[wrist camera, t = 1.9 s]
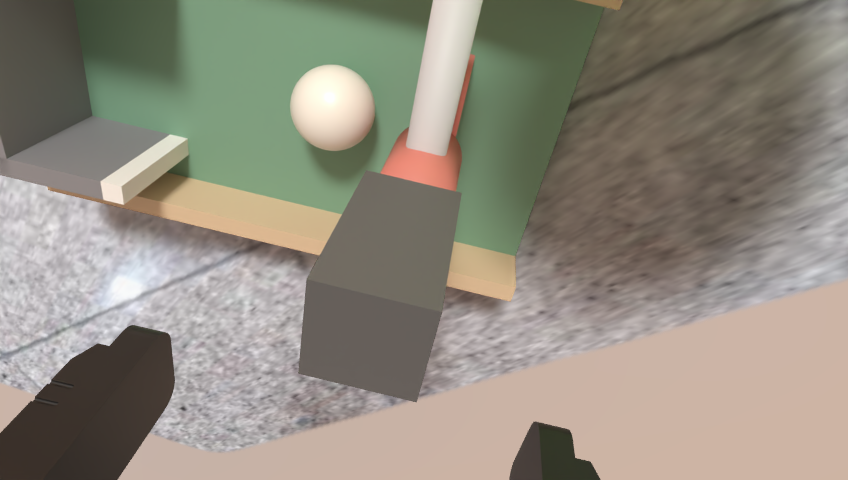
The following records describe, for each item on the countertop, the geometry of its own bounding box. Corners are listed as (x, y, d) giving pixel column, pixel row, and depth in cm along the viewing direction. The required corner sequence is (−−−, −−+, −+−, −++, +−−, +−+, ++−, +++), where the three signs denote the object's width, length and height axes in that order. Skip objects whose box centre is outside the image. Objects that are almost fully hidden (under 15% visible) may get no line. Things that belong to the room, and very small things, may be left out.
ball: (388, 65, 26) (370, 89, 22) (376, 141, 28) (358, 173, 25) (308, 46, 26) (278, 67, 22) (303, 123, 28) (275, 153, 25)
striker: (518, -63, 22) (533, -13, 8) (435, 261, 31) (378, 535, 18) (443, -81, 22) (336, -59, 8) (383, 249, 31) (285, 512, 18)
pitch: (612, -29, 23) (647, -7, 17) (510, 260, 32) (510, 339, 26) (42, -163, 23) (-114, -185, 18) (96, 160, 32) (4, 217, 26)
